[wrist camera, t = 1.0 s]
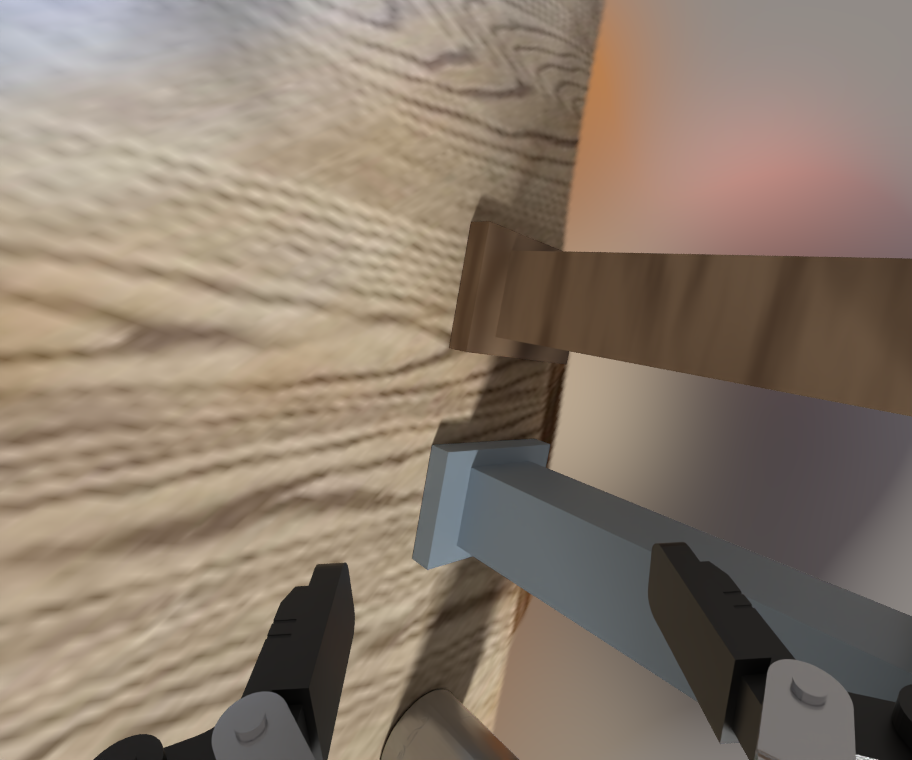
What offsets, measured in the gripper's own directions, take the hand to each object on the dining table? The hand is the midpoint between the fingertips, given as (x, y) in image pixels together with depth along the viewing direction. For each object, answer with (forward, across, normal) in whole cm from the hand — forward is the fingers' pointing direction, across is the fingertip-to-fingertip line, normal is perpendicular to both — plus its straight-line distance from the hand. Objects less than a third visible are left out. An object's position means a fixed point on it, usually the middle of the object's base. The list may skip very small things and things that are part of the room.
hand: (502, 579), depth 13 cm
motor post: (+29, +1, -16) cm, 33 cm away
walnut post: (+33, +5, +2) cm, 34 cm away
